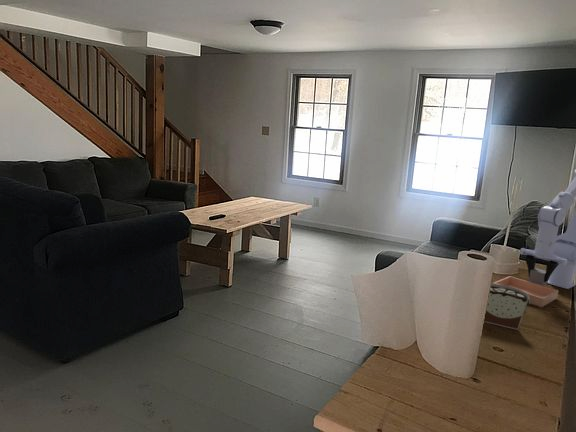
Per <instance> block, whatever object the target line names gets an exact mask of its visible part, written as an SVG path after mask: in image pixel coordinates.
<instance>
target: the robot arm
mask: <svg viewBox="0 0 576 432" xmlns="http://www.w3.org/2000/svg"><path fill="white" fill-rule="evenodd" d="M575 198H576V168H575V169H574V171H573V177H572V181H571V182H570V183H569V184H568V186H567V188H566V189H565V190H564V191H560V192H558V194H557V195H556V196H555V197H554V198H553V199H552V200H551V202H550V203H549V204H548V205H545V206H543V207H540V209H539V212H538V214H537V220H538V222H537V226H538V232H537V236H536V241H535V247H534V249H527V248H525V247H522V248H520V251H519V255H525V256H526V257H525V258H524V260H525V263H526V266H527V270H528V271H527V272H528V277H529V276H530V271H531V270H532V269H534V268H536V267H535V266H536V264H537V261H538V260H539V259H541V260H543V261H548V262H546V265H545V266H546V267H545V271H546V274H545V278H544V282H547V284H548V285H553V286H555V287H559V288H562V289H567V290H569V289H571V288H573V287H575V286H576V285H575V282H574V281H575V277H576V208H575V209H574V212H573V214H572V217H571V219H570V222H569V224H568V226H567V228H566V230H565V232H564V233H562V234H559V235H558V233H559V227H560V225H562V224H563V223H564V221H565V220H566V219H565V218H566V216H567V212H568V211H569V210H570V209H571V208H572V207H573V205H575V202H576V201H575Z"/></svg>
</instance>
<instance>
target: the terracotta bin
mask: <svg viewBox="0 0 576 432" xmlns="http://www.w3.org/2000/svg"><path fill="white" fill-rule="evenodd" d="M528 281H529V280H525V279H521V278H518V277H515V276H511V275H509V276H507V277H504V278H502V279H499V280H496V281H494V282H492V284H499V285H505V286H510V287H513V288H516V289H519V290H522V291H524V292H525V293H527V294H528V295H529V298H530V304H529V303H528V302H527V304H529V305H533V306H535V307H539V308H543V307H545V306H547V305H549V304H551V303H552V302H554V301H555V300H557V299H558V296H559V289H555V288H552V287H548V286H546V285H543V286H542V285H538V284H535V283H532V282H528Z"/></svg>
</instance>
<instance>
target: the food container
mask: <svg viewBox="0 0 576 432" xmlns="http://www.w3.org/2000/svg"><path fill="white" fill-rule="evenodd" d="M490 284H491V287H490V292H489V298H488V303H487V308H486V314H485V320H484V322H483V323H488V324H492V325H497V326H500V327H503V328H509V329H513V330H517V331H518V330H519V328H520V325H521V324H522V323H521V321H522V319H523V317H524V313H525V311H526V307H527V305H528V304H529V305H531V304H530V298H529V295H528V294H527V293H525V292H524V291H522V290H519V289H516V288H513V287H510V286H505V285H499V284H493V283H490ZM527 302H528V303H527Z"/></svg>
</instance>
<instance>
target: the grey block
mask: <svg viewBox="0 0 576 432" xmlns="http://www.w3.org/2000/svg"><path fill="white" fill-rule="evenodd" d="M545 274H546V269H540V268H538V267H534V269H532V270H531V271H530V276H529V275H528V280H527V281H528V282H532V283H535V284H538V285H542V286H546V285H547V284H548V283H547V282H544V278H545Z"/></svg>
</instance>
